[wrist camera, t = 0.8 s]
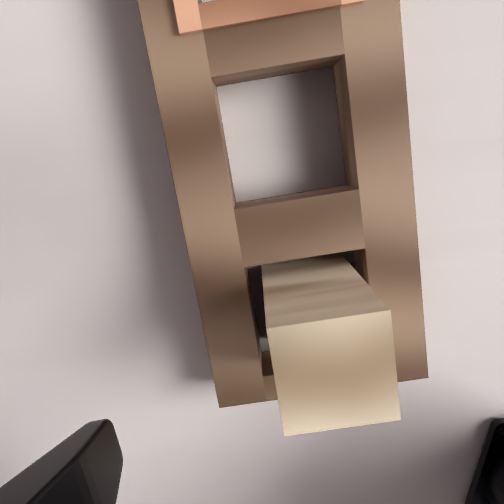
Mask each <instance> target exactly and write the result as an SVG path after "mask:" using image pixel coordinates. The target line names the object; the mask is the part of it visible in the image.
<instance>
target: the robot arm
mask: <svg viewBox="0 0 504 504" xmlns="http://www.w3.org/2000/svg"><path fill="white" fill-rule="evenodd" d="M502 427H504V419H503V418H498V419H496V420H494V421H493V422H492V423H491V425H490V428H489V431H488V435H487V438H486V441H485V444H484V447H483V450H482V453H481V457H480V460H479V463H478V466H477V469H476V472H475V476H474V479H473V482H472V485H471V488H470V491H469V494H468V498H467V501H466V504H504V428H503V429H502V430H499V429H500V428H502ZM122 466H123V456H122V451H121V448H120V445H119V442H118V439H117V436H116V432H115V429H114V426H113V424H112V422H111V421H110V420H108V419H103V420H97V421H92V422H89V423H87V424H86V425H84V426H83V427H82V428H80V429H79V430H78V431H76V432H75V433H73V434H72V435H71V436H69V437H68V438H67V439H65V440H64V441H63V442H61V443H60V444H59V445H57V446H56V447H55V448H53V449H52V450H50V451H49V452H48V453H46V454H45V455H44V456H42V457H41V458H40V459H38V460H37V461H36V462H34V463H33V464H32V465H30V466H29V467H27V468H26V469H25V470H23V471H22V472H21V473H19V474H18V475H17V476H15V477H14V478H13V479H11V480H10V481H9V482H7V483H6V484H5V485H3V486H2V487H0V504H116V499H117V494H118V488H119V483H120V477H121V472H122Z"/></svg>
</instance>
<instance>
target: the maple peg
mask: <svg viewBox="0 0 504 504" xmlns="http://www.w3.org/2000/svg"><path fill="white" fill-rule="evenodd" d="M261 268H262V281H263V293H264V306H265V319H266V330H267V336H268V342H269V348H270V354H271V360H272V366H273V372H274V378H275V384H276V390H277V396H278V402H279V408H280V414H281V420H282V426H283V432H284V436H291V435H298V434H306V433H313V432H320V431H327V430H334V429H341V428H348V427H355V426H362V425H369V424H376V423H383V422H390V421H397V420H401V414H400V403H399V393H398V382H397V371H396V361H395V350H394V340H393V329H392V319H391V310H390V309H389V307H388V306H387V305H386V304H385V303H384V302H383V301H382V300H381V298H380V297H379V296H378V295H377V294H376V293H375V292H374V291H373V289H372V288H371V287H370V286H369V285H368V284H367V283H366V281H365V280H364V279H363V278H362V277H361V276H360V275H359V274H358V272H357V271H356V270H355V269H354V268H353V267H352V266H351V264H350V263H349V262H348V261H347V260H346V259H345V258H344V257H343V255H342V254H341V253H336V254H330V255H323V256H317V257H310V258H304V259H298V260H291V261H285V262H278V263H272V264H266V265H261Z"/></svg>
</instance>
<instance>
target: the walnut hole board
mask: <svg viewBox="0 0 504 504" xmlns="http://www.w3.org/2000/svg"><path fill="white" fill-rule="evenodd" d="M137 1H138V6H139V11H140V16H141V21H142V26H143V31H144V36H145V41H146V46H147V51H148V56H149V61H150V66H151V71H152V75H153V80H154V85H155V90H156V95H157V100H158V105H159V110H160V115H161V120H162V125H163V130H164V135H165V140H166V145H167V150H168V155H169V160H170V165H171V170H172V175H173V180H174V185H175V190H176V195H177V200H178V205H179V210H180V215H181V220H182V225H183V229H184V234H185V239H186V244H187V249H188V254H189V259H190V264H191V269H192V274H193V279H194V284H195V289H196V294H197V299H198V304H199V309H200V314H201V319H202V324H203V329H204V334H205V339H206V344H207V349H208V354H209V359H210V364H211V369H212V374H213V379H214V383H215V388H216V393H217V398H218V403H219V408H223V407H229V406H236V405H243V404H250V403H257V402H264V401H271V400H278V396H277V390H276V384H275V378H274V372H273V366H272V360H271V354H270V351H268V352H262V353H261V347H260V341H259V335H258V329H257V323H256V318H255V312H254V306H253V300H252V294H251V288H250V282H249V277H248V271H247V267H249V266H256V265H262V264H268V263H275V262H281V261H287V260H294V259H300V258H307V257H313V256H319V255H326V254H332V253H338V252H345V251H351V250H354V258H355V267H356V271H357V272H358V274H359V275H360V276H361V277H362V278H363V279H364V280H365V281H366V283H367V284H368V285H369V286H370V287H371V288H372V289H373V291H374V292H375V293H376V294H377V295H378V296H379V297H380V298H381V300H382V301H383V302H384V303H385V304H386V305H387V306H388V307H389V309H390V310H391V319H392V329H393V340H394V350H395V361H396V371H397V382H402V381H409V380H416V379H422V378H428V367H427V354H426V341H425V328H424V314H423V301H422V288H421V275H420V262H419V249H418V236H417V222H416V209H415V196H414V183H413V170H412V157H411V144H410V130H409V117H408V104H407V91H406V78H405V65H404V52H403V38H402V25H401V12H400V0H216V1H211V2H205V3H202V1H201V0H137ZM332 66H333V69H334V78H335V87H336V96H337V105H338V114H339V123H340V132H341V141H342V150H343V159H344V168H345V177H346V185H343V186H337V187H331V188H325V189H319V190H313V191H306V192H300V193H294V194H288V195H282V196H276V197H270V198H263V199H257V200H251V201H245V202H239V203H236V200H235V195H234V189H233V183H232V177H231V171H230V165H229V159H228V154H227V148H226V142H225V136H224V130H223V124H222V118H221V113H220V107H219V101H218V95H217V89H216V87H217V86H222V85H228V84H234V83H240V82H246V81H251V80H257V79H263V78H269V77H274V76H280V75H286V74H292V73H298V72H303V71H309V70H315V69H321V68H327V67H332Z"/></svg>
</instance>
